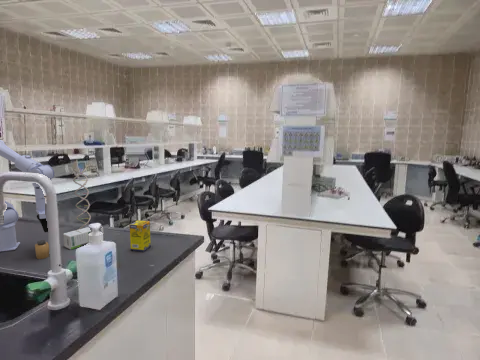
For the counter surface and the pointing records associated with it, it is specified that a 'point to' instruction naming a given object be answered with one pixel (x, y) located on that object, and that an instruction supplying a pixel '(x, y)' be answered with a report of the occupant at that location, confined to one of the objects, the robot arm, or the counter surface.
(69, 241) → the syrup box
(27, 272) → the counter surface
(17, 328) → the counter surface
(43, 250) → the amber bottle
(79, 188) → the dna model
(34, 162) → the robot arm
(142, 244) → the supplement box
